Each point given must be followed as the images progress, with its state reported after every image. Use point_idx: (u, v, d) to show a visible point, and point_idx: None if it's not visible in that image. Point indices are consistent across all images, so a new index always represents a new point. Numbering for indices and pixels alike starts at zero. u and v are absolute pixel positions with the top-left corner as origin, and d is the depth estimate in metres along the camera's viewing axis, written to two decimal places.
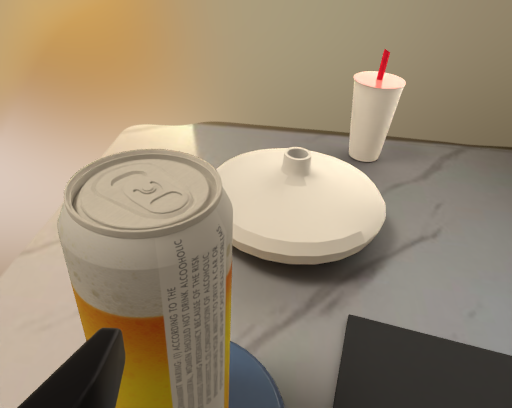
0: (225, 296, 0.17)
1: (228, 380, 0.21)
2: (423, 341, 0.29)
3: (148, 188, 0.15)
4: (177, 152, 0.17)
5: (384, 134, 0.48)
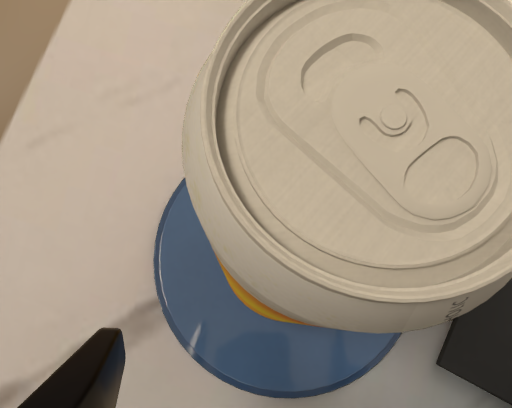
0: None
1: None
2: None
3: (397, 122, 0.06)
4: None
5: None
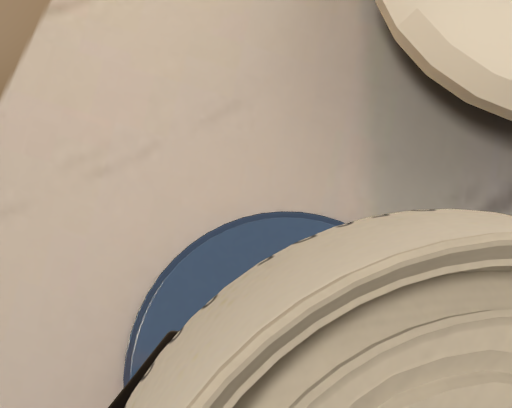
0: None
1: None
2: None
3: None
4: None
5: None
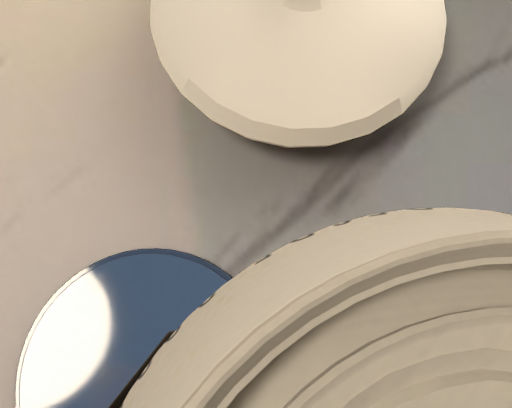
0: None
1: None
2: None
3: None
4: None
5: None
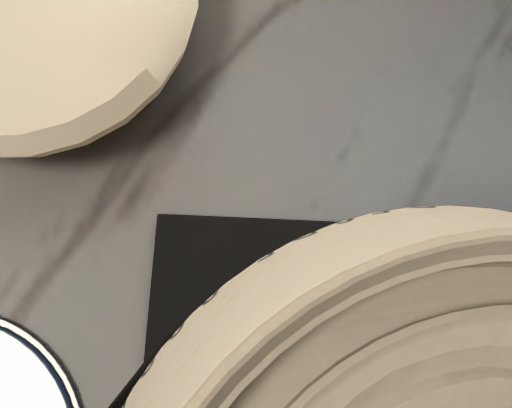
0: None
1: None
2: (267, 233, 0.20)
3: None
4: None
5: None
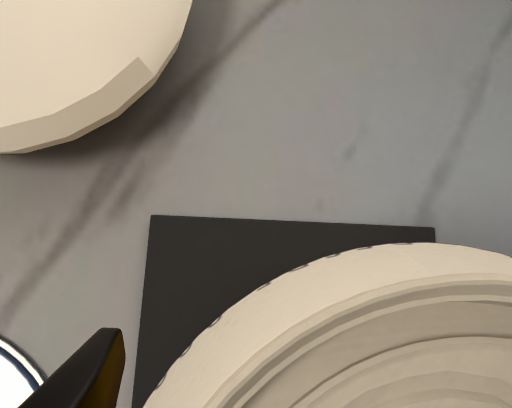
0: None
1: None
2: (269, 236, 0.18)
3: None
4: None
5: None
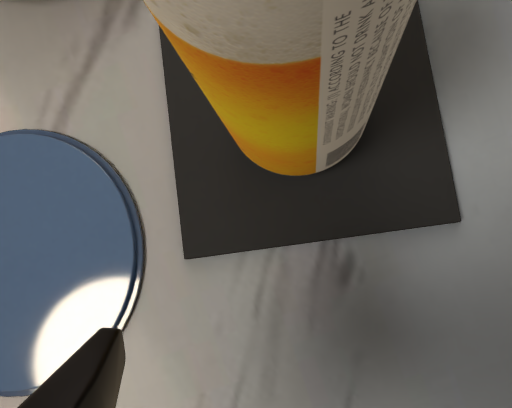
0: None
1: None
2: None
3: None
4: None
5: None
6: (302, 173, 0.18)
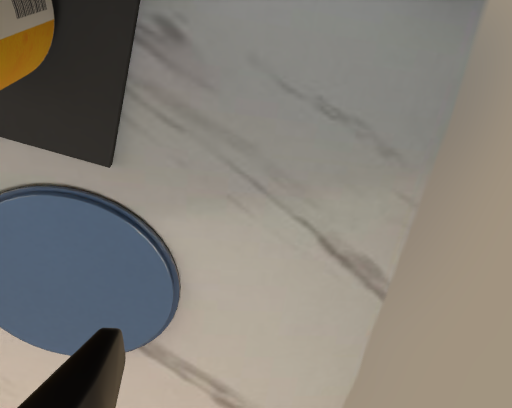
0: None
1: None
2: None
3: None
4: None
5: None
6: (49, 35, 0.17)
